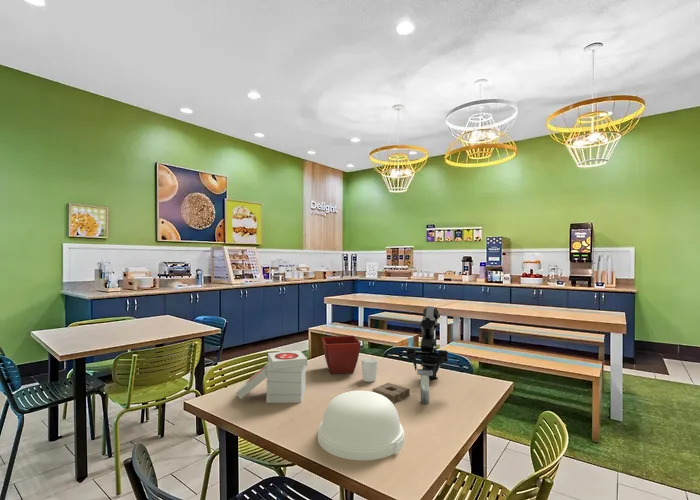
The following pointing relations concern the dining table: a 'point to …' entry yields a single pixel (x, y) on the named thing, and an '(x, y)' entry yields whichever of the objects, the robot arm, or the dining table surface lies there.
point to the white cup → (369, 369)
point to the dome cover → (361, 427)
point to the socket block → (392, 392)
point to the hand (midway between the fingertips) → (426, 371)
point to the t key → (424, 385)
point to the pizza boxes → (280, 377)
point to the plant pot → (341, 353)
